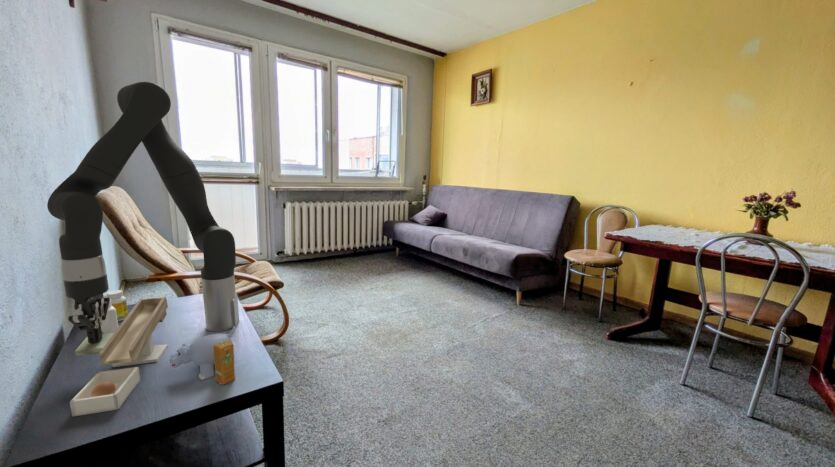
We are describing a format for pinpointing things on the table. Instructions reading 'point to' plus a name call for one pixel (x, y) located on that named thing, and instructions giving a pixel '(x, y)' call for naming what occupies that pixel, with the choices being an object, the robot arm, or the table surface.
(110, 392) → the ball
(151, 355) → the chute stand
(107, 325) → the eye dropper bottle
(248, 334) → the table surface
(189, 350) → the hippopotamus toy
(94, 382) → the bin
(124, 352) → the tilting chute
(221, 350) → the supplement box
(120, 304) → the supplement bottle
